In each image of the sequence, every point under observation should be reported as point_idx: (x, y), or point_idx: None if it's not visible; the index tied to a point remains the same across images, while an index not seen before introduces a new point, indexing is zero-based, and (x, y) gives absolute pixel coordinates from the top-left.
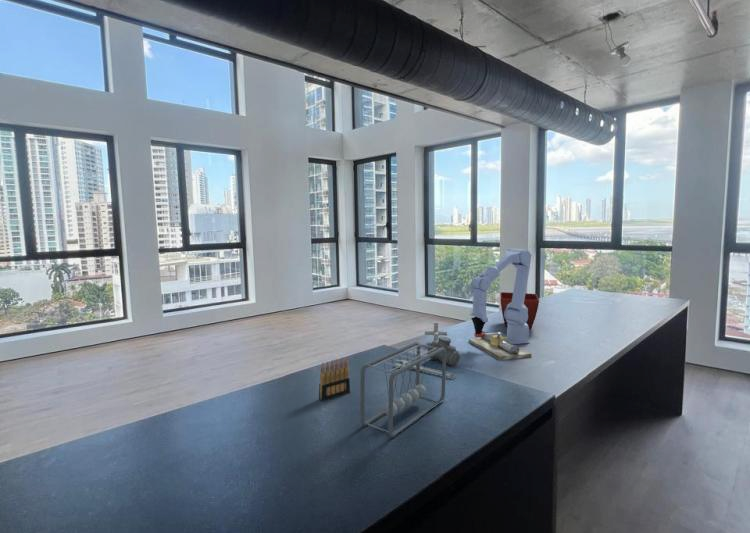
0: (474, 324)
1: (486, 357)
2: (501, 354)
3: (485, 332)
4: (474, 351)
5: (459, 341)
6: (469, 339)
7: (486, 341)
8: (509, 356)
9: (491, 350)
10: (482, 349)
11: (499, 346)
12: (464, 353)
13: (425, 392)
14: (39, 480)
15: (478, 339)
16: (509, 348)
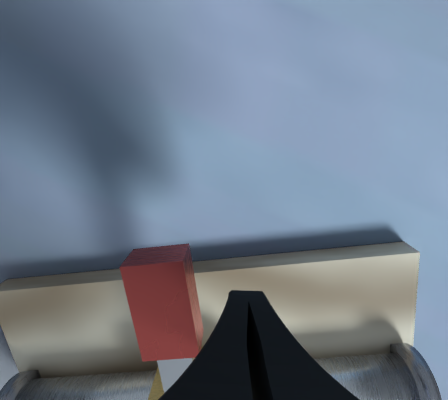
0: (271, 366)
1: (52, 222)
2: (29, 317)
3: None
4: (178, 194)
5: (436, 176)
6: (405, 252)
7: (316, 344)
8: (14, 346)
9: (111, 293)
10: (205, 261)
11: None
12: (137, 100)
13: None
14: None
15: (377, 313)
16: (33, 397)
